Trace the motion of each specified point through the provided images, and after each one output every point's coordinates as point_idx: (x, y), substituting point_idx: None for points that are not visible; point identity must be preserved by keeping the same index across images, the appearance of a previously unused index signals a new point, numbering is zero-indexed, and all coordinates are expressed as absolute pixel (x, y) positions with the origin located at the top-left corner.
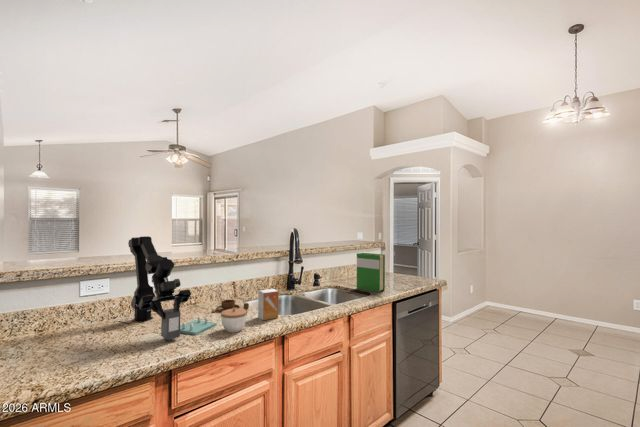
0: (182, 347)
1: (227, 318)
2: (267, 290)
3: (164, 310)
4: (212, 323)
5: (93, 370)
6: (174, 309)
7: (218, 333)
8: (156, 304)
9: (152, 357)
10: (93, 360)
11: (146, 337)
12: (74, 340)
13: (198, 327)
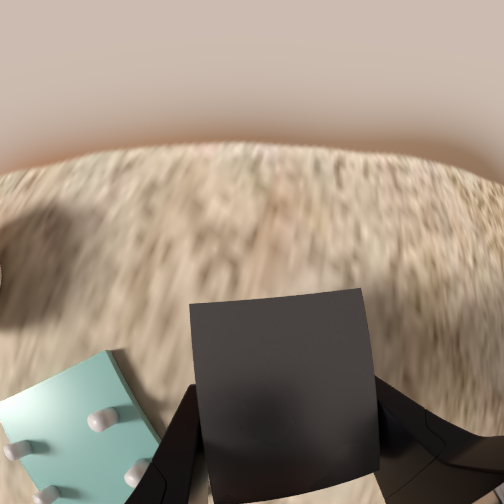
0: (229, 224)
1: None
2: None
3: (355, 460)
4: (6, 416)
5: (478, 229)
6: (233, 447)
7: (29, 289)
8: (494, 437)
9: (357, 204)
10: (491, 304)
11: None
12: None
13: (69, 422)
